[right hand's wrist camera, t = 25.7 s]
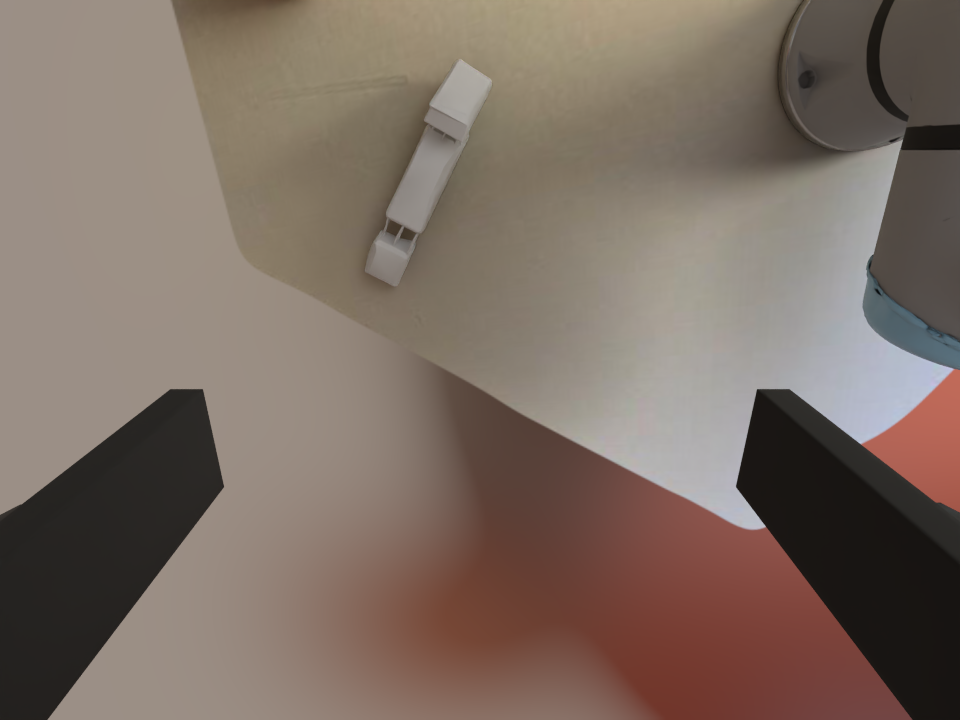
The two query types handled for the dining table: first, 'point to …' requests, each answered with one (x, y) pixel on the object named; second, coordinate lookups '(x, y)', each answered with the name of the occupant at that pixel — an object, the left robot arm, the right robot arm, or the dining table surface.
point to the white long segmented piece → (429, 168)
